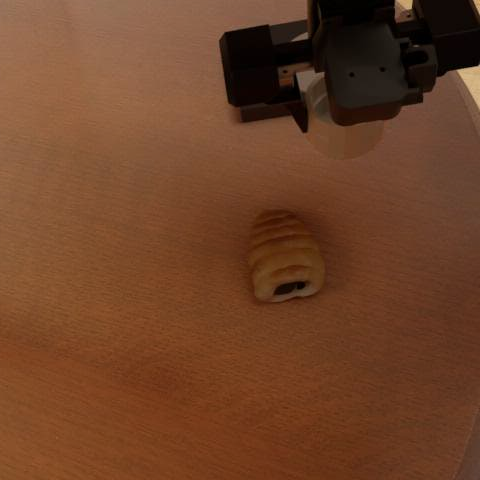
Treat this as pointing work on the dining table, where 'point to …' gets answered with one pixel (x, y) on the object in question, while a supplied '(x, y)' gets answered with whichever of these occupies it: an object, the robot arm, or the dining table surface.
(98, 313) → the dining table surface
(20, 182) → the dining table surface
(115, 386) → the dining table surface
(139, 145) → the dining table surface
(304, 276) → the pastry
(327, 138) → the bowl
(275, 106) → the scale
